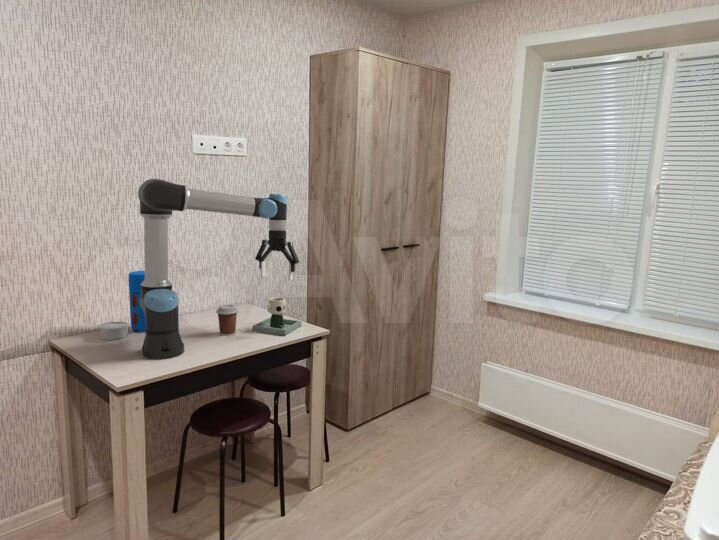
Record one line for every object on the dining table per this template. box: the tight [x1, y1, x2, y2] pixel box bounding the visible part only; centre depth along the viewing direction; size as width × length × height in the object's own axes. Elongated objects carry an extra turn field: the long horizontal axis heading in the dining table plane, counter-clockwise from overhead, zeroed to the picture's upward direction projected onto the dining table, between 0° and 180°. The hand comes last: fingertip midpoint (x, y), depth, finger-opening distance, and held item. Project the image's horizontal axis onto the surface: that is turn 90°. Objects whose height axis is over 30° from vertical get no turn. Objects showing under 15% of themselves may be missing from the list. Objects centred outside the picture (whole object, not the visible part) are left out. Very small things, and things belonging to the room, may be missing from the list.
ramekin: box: [98, 321, 130, 341], centre depth 212 cm, size 11×11×5 cm
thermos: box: [128, 270, 146, 333], centre depth 222 cm, size 11×11×25 cm
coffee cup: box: [215, 304, 239, 337], centre depth 220 cm, size 9×9×12 cm
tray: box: [251, 316, 302, 337], centre depth 230 cm, size 16×16×2 cm
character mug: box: [266, 296, 288, 328], centre depth 229 cm, size 11×7×13 cm, turn 140°
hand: (276, 277), depth 226 cm, fingers open, 13 cm apart
